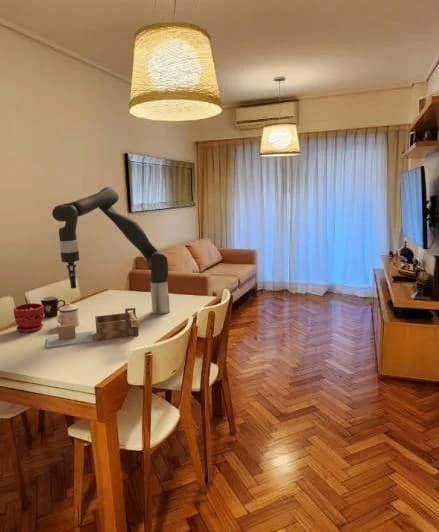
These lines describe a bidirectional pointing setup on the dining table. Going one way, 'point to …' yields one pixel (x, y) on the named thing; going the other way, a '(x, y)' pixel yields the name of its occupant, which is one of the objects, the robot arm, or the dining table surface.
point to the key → (133, 320)
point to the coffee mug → (50, 306)
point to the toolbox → (115, 326)
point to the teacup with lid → (68, 315)
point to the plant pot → (29, 317)
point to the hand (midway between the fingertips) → (73, 286)
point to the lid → (68, 337)
